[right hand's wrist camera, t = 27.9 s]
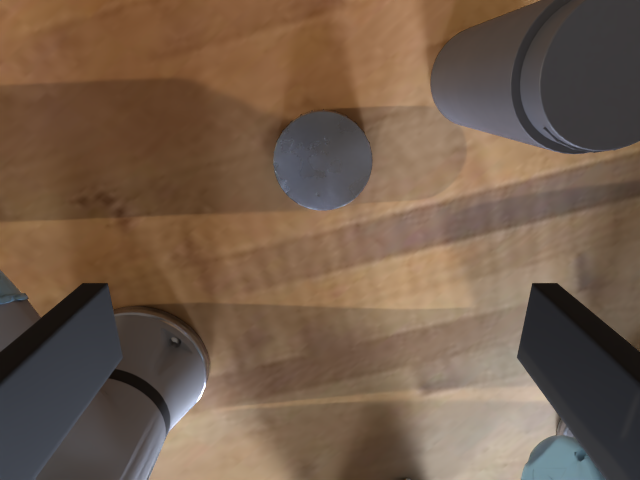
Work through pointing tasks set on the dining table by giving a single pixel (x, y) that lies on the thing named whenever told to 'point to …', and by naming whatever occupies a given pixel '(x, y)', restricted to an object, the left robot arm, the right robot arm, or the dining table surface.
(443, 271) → the dining table surface
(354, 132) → the lid
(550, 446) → the left robot arm
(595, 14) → the jar
